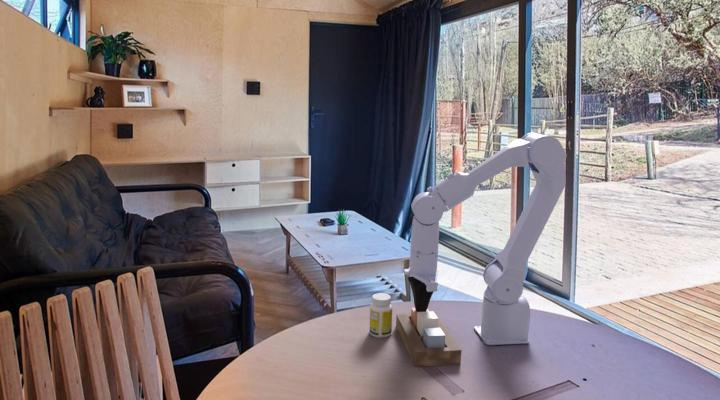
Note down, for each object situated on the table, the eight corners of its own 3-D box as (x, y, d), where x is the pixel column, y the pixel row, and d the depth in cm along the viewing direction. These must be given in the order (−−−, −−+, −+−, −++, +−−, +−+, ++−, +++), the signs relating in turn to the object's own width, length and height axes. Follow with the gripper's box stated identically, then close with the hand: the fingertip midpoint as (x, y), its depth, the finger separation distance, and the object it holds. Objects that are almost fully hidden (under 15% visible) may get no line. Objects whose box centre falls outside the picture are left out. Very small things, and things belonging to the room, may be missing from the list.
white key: (432, 327, 109) (433, 311, 108) (437, 335, 106) (438, 318, 105) (416, 328, 109) (417, 312, 108) (420, 336, 105) (421, 319, 104)
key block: (435, 325, 117) (435, 312, 116) (460, 364, 100) (461, 350, 100) (395, 327, 115) (396, 314, 115) (415, 366, 99) (415, 352, 98)
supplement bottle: (391, 329, 114) (393, 293, 113) (390, 338, 110) (392, 301, 108) (370, 327, 115) (371, 291, 113) (368, 337, 110) (369, 300, 108)
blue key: (439, 344, 104) (440, 327, 104) (444, 352, 101) (445, 335, 100) (422, 345, 104) (423, 328, 103) (427, 353, 101) (428, 336, 100)
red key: (425, 322, 114) (426, 307, 113) (429, 329, 111) (430, 313, 110) (410, 323, 114) (411, 307, 113) (414, 330, 110) (415, 314, 110)
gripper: (398, 240, 115) (395, 298, 118) (414, 261, 101) (410, 326, 104) (428, 240, 116) (425, 297, 119) (449, 261, 102) (444, 325, 105)
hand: (420, 310), depth 111 cm, fingers closed, pressing on red key
